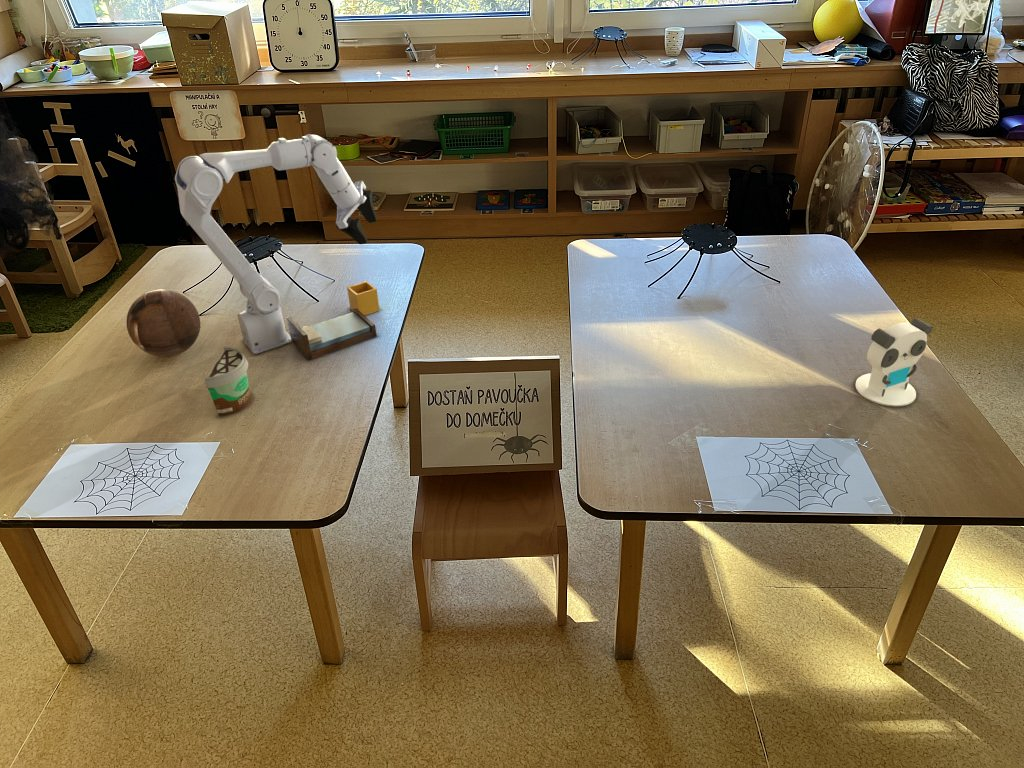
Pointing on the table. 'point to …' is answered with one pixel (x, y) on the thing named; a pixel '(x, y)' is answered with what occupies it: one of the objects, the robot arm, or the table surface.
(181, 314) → the wooden sphere
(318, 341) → the toy bed
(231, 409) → the food container
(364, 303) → the small bin
